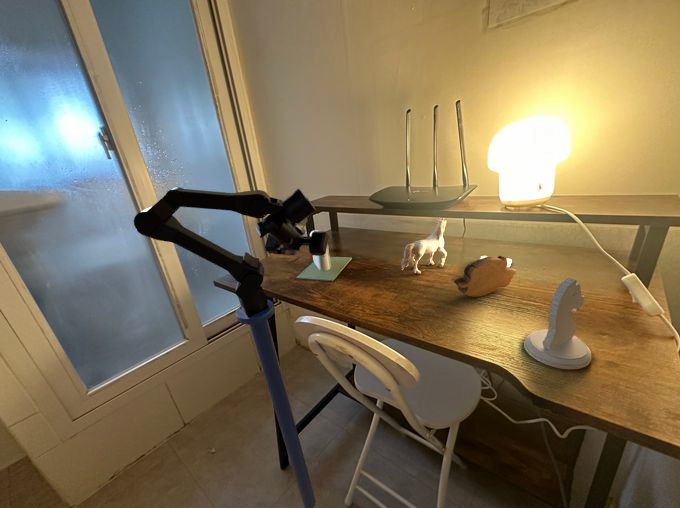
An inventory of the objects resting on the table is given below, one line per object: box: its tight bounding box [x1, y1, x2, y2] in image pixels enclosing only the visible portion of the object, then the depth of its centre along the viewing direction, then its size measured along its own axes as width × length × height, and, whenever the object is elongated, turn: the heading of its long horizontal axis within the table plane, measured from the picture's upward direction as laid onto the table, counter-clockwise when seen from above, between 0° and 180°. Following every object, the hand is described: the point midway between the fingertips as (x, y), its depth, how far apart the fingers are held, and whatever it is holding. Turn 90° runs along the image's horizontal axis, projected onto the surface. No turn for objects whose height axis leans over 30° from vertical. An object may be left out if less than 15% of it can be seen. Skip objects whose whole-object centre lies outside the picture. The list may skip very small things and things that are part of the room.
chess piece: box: [523, 277, 592, 370], centre depth 52 cm, size 10×10×15 cm
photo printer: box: [309, 229, 331, 271], centre depth 102 cm, size 10×4×12 cm, turn 17°
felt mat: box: [295, 256, 353, 282], centre depth 103 cm, size 18×13×1 cm
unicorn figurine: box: [400, 216, 448, 275], centre depth 90 cm, size 7×20×13 cm, turn 128°
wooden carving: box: [453, 255, 517, 298], centre depth 74 cm, size 16×5×10 cm, turn 110°
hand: (308, 254), depth 92 cm, fingers open, 9 cm apart
